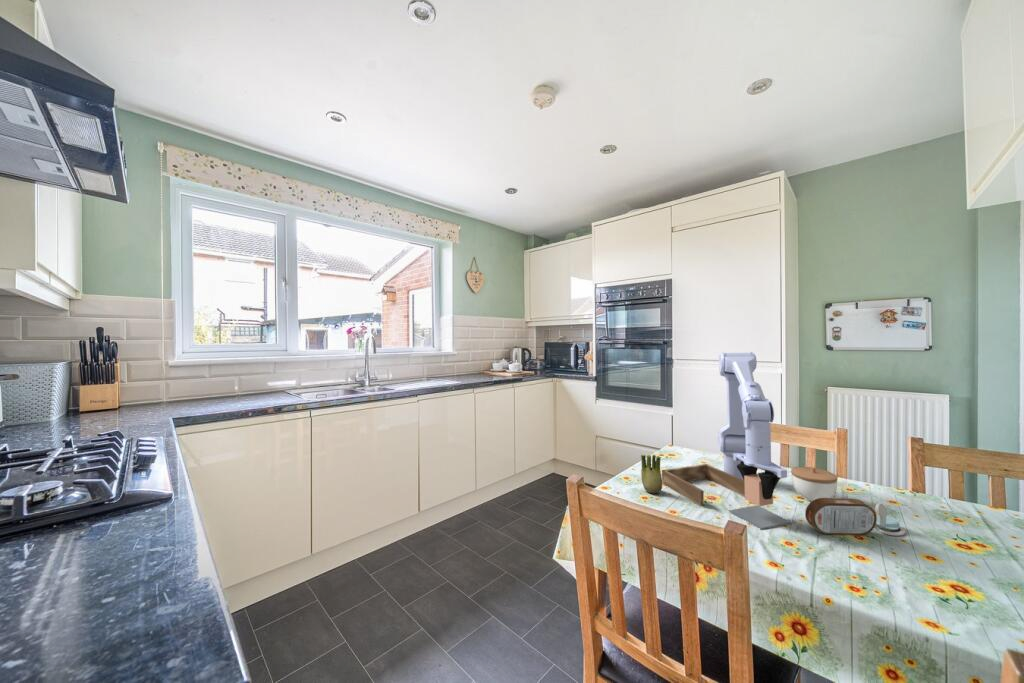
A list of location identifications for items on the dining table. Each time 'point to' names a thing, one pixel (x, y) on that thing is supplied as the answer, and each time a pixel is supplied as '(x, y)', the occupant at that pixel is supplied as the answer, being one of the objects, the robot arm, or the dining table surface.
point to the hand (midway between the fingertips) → (758, 494)
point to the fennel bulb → (651, 474)
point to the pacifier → (887, 522)
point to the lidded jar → (814, 483)
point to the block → (755, 490)
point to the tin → (841, 516)
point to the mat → (760, 517)
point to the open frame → (680, 475)
